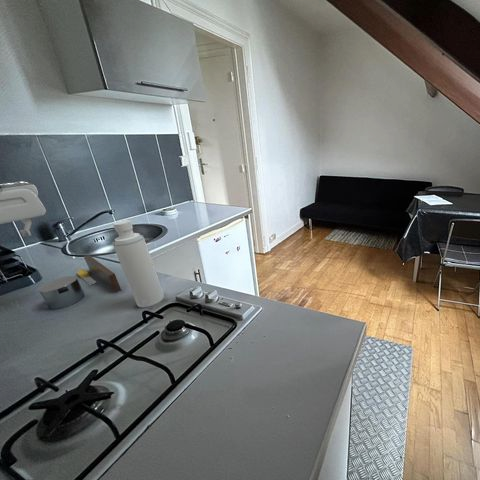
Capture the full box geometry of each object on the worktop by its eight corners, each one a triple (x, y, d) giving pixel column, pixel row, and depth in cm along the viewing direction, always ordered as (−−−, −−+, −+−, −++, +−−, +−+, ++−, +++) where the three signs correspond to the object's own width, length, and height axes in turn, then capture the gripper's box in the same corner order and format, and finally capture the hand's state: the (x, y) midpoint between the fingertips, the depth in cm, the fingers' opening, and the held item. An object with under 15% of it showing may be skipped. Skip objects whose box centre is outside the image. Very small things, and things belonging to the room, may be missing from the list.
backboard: (115, 292, 79) (108, 275, 76) (90, 271, 93) (83, 256, 91) (121, 290, 80) (114, 273, 77) (95, 269, 94) (88, 254, 92)
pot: (52, 314, 70) (42, 295, 68) (45, 302, 76) (35, 285, 74) (89, 299, 76) (80, 281, 74) (79, 289, 82) (71, 272, 79)
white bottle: (166, 300, 73) (136, 215, 63) (138, 311, 69) (102, 222, 60) (162, 290, 78) (134, 210, 68) (135, 300, 74) (102, 216, 65)
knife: (89, 285, 83) (87, 282, 83) (77, 274, 91) (76, 271, 91) (97, 282, 85) (96, 279, 85) (85, 271, 93) (83, 268, 93)
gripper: (29, 179, 69) (52, 227, 75) (-109, 196, 54) (-67, 256, 59) (35, 180, 66) (59, 231, 71) (-111, 198, 50) (-66, 262, 56)
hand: (1, 242), depth 65 cm, fingers open, 8 cm apart
